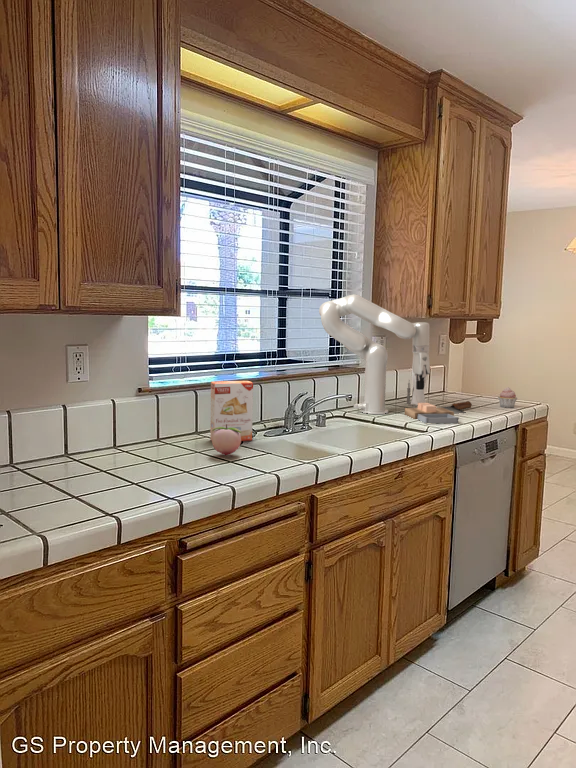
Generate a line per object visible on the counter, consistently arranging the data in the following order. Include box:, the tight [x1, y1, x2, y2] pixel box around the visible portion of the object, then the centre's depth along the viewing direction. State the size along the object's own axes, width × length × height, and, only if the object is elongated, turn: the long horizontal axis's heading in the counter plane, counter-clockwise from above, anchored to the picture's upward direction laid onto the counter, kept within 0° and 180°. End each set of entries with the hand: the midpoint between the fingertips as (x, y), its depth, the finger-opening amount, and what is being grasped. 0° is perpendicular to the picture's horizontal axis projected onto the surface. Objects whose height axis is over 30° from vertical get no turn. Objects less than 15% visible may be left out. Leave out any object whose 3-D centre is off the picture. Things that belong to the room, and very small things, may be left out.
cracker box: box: [209, 380, 254, 442], centre depth 201 cm, size 14×6×21 cm, turn 112°
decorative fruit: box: [211, 424, 242, 456], centre depth 179 cm, size 9×8×10 cm
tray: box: [417, 414, 459, 424], centre depth 243 cm, size 14×10×2 cm
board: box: [404, 407, 455, 420], centre depth 254 cm, size 18×12×3 cm, turn 99°
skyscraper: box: [405, 368, 428, 407], centre depth 287 cm, size 8×8×28 cm
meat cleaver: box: [440, 400, 473, 415], centre depth 269 cm, size 34×11×4 cm, turn 132°
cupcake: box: [497, 386, 518, 409], centre depth 285 cm, size 9×9×10 cm
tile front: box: [422, 404, 437, 412], centre depth 252 cm, size 4×4×2 cm
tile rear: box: [417, 402, 432, 410], centre depth 257 cm, size 4×4×2 cm
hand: (420, 389), depth 263 cm, fingers closed
